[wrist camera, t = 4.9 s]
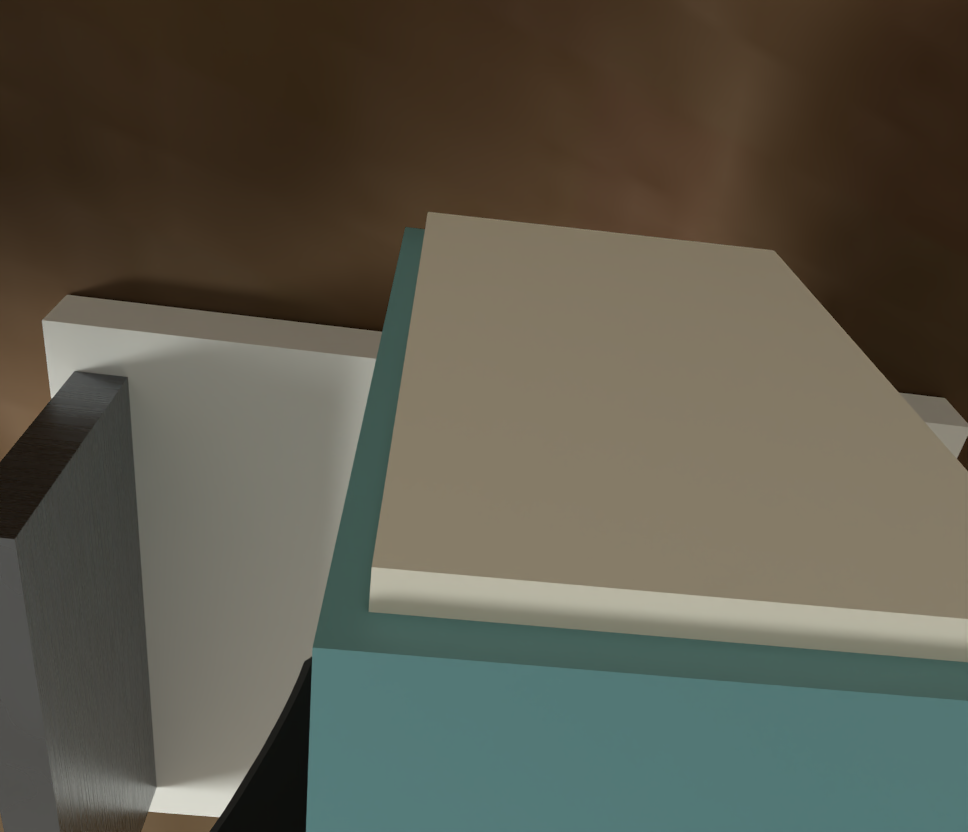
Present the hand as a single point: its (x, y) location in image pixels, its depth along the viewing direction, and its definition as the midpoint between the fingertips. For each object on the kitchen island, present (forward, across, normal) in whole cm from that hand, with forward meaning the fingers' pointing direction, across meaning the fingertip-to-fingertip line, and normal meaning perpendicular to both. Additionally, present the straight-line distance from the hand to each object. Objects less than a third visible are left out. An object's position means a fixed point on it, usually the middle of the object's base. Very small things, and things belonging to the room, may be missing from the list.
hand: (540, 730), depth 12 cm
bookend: (+8, +8, +6) cm, 13 cm away
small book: (+2, 0, 0) cm, 2 cm away
